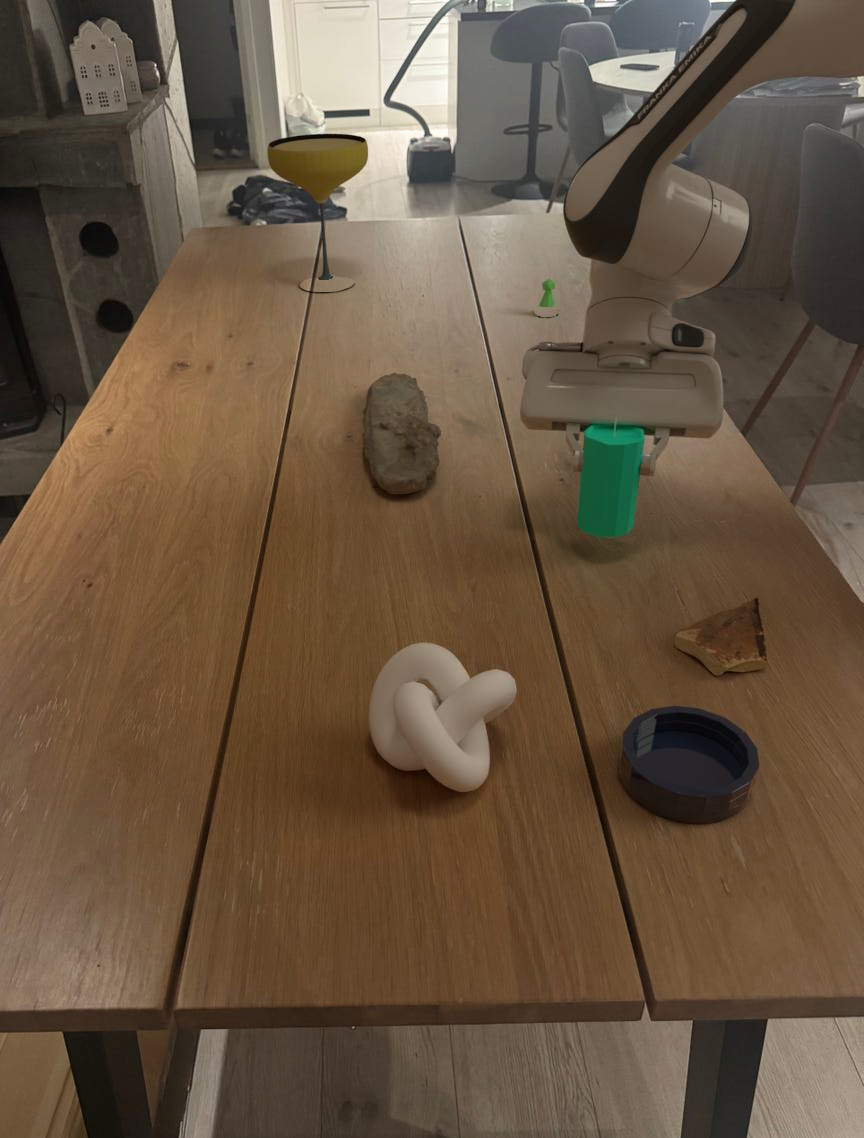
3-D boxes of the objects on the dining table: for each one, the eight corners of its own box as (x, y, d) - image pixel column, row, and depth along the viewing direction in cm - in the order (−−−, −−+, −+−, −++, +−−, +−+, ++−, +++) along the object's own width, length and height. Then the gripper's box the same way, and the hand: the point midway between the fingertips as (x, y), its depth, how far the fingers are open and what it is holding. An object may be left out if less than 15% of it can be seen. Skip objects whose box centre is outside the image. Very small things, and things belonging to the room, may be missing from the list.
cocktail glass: (276, 276, 192) (262, 137, 178) (365, 268, 195) (358, 130, 180) (285, 303, 178) (271, 154, 163) (380, 294, 180) (375, 147, 165)
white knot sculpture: (468, 691, 86) (471, 609, 80) (548, 773, 77) (557, 687, 72) (356, 734, 82) (350, 651, 76) (427, 826, 73) (426, 739, 68)
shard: (754, 609, 94) (757, 594, 93) (816, 649, 89) (821, 634, 88) (670, 644, 90) (673, 628, 89) (730, 688, 85) (733, 672, 84)
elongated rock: (427, 396, 143) (361, 403, 144) (425, 361, 140) (357, 368, 141) (450, 495, 114) (367, 503, 114) (448, 454, 111) (362, 462, 111)
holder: (768, 763, 77) (776, 735, 76) (724, 844, 71) (732, 815, 69) (648, 717, 82) (653, 690, 80) (597, 789, 76) (601, 761, 74)
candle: (607, 544, 99) (619, 436, 92) (564, 522, 103) (572, 417, 95) (645, 523, 102) (659, 418, 95) (601, 504, 106) (612, 400, 98)
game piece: (529, 314, 168) (531, 279, 165) (545, 308, 171) (547, 273, 167) (548, 319, 166) (550, 284, 162) (564, 313, 168) (566, 278, 164)
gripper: (524, 327, 99) (510, 456, 97) (732, 333, 95) (721, 468, 93) (526, 354, 105) (513, 476, 103) (721, 361, 101) (711, 488, 99)
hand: (613, 472), depth 98 cm, fingers closed on candle, 5 cm apart
